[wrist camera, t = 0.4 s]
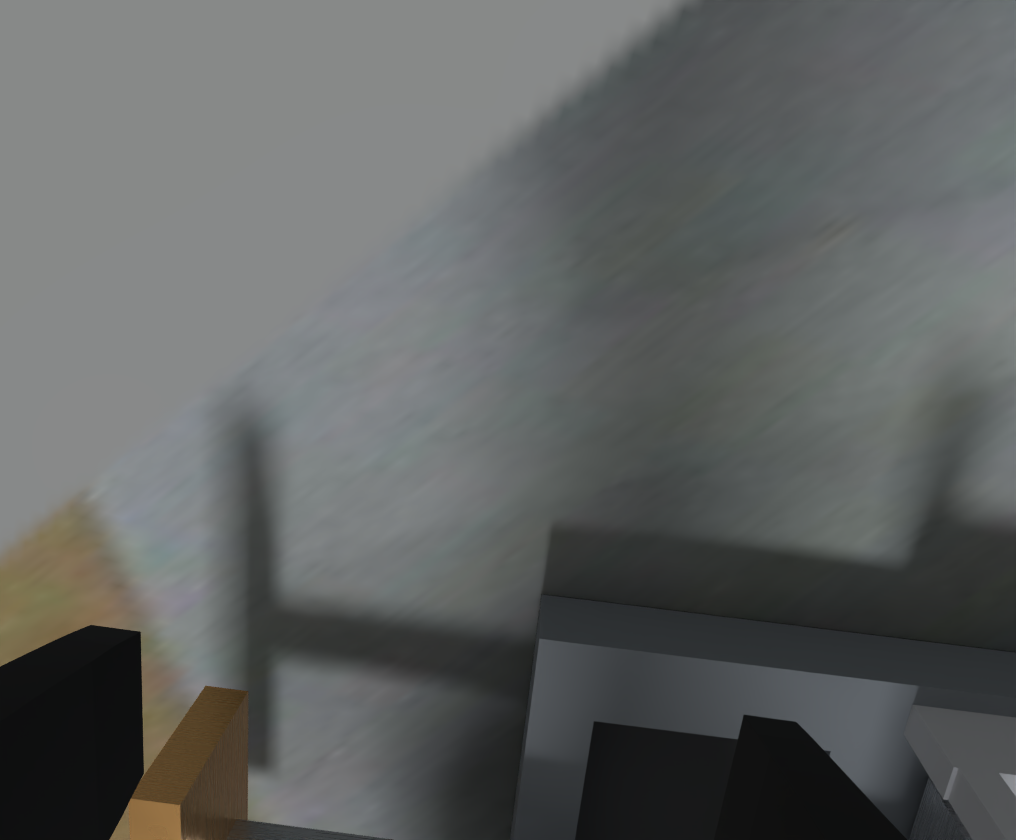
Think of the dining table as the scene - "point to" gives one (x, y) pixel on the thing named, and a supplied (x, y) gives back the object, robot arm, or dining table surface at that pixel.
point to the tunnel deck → (757, 692)
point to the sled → (231, 836)
